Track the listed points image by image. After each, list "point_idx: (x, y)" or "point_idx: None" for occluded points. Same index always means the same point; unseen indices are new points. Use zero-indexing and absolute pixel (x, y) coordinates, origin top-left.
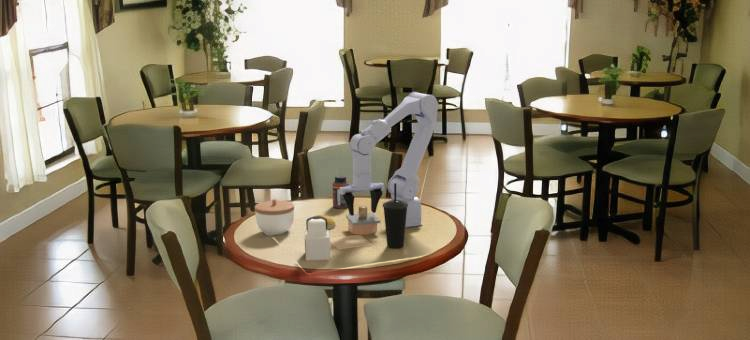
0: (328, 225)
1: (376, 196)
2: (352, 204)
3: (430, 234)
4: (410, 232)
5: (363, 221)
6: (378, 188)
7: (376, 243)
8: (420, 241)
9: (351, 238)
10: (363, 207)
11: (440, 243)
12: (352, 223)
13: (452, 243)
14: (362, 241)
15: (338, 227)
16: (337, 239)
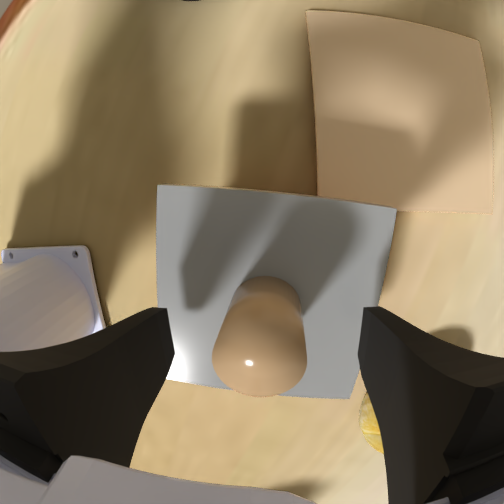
0: None
1: (53, 364)
2: (423, 348)
3: (7, 125)
4: (51, 173)
5: (299, 214)
6: (2, 459)
7: (269, 46)
8: (66, 39)
9: (390, 157)
10: (258, 348)
11: (29, 17)
12: (392, 219)
13: (7, 20)
14: (347, 78)
15: (355, 382)
16: (458, 180)
